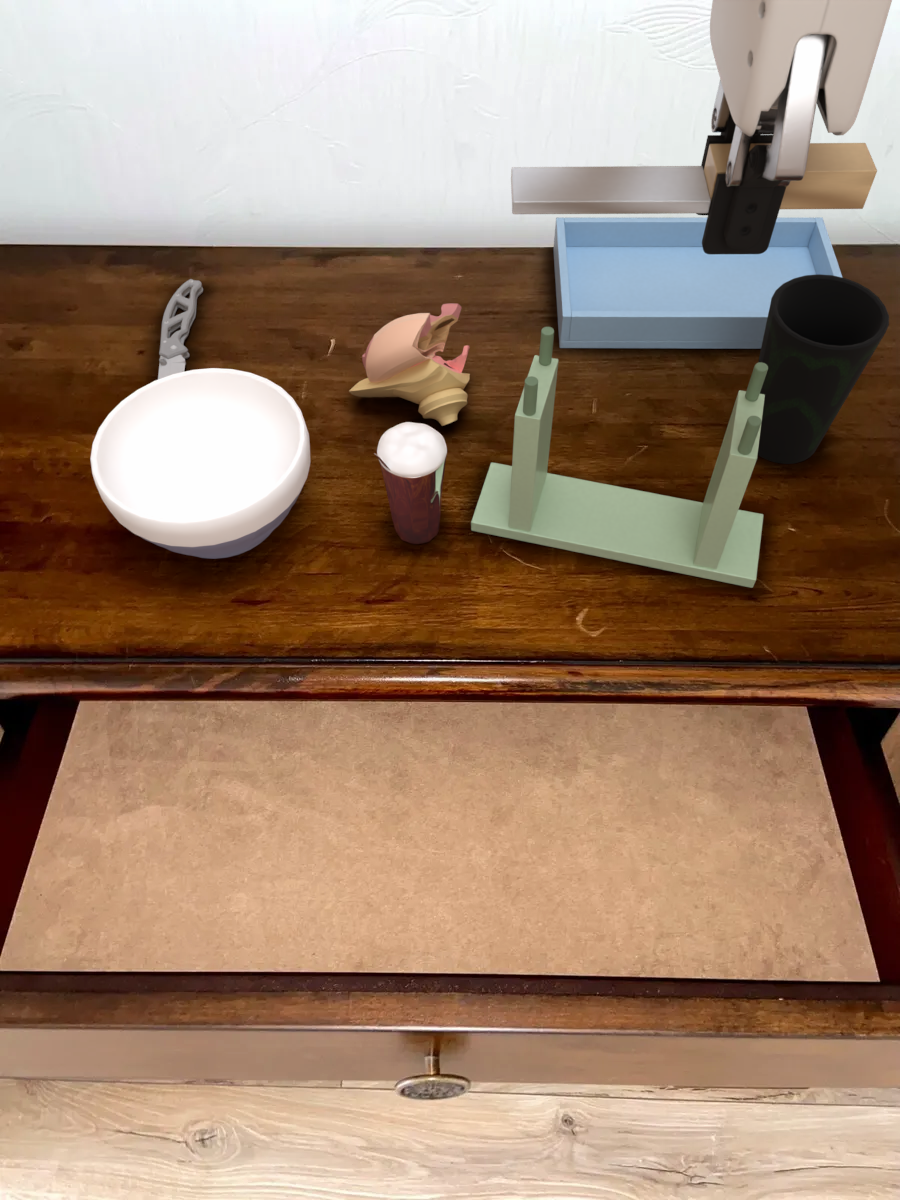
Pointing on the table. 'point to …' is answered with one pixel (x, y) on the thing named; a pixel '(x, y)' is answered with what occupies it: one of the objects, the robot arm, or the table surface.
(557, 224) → the tray
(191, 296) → the knife
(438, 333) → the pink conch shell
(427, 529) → the milkshake
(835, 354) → the cup
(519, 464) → the rack
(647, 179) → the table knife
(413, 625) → the table surface
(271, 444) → the bowl
